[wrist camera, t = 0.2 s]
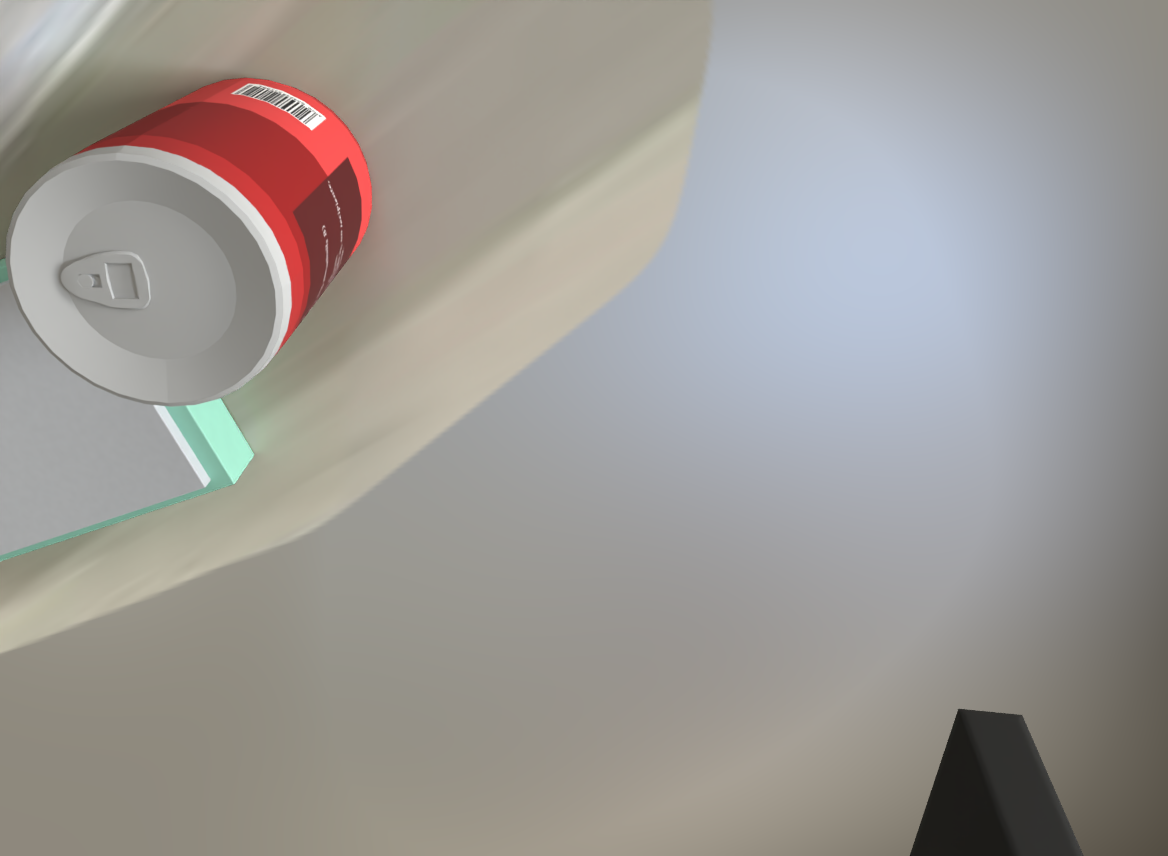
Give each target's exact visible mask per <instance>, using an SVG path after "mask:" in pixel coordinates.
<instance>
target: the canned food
mask: <svg viewBox="0 0 1168 856" xmlns="http://www.w3.org/2000/svg"><path fill="white" fill-rule="evenodd" d="M371 208H372V188H371V182H370V177H369V173H368V168H367V163H366V160H365V158H364V156H363V153H362V151H361V148H360V146H359V144H358V142H357V141H356V139H355V138H354V136H353V135H352V133H351V132H350V130H349V129H348V127H347V126H346V125H345V124H344V123H343V121H342V120H341V119H340V118H339V117H338V116H337V115H336V114H335V113H334V112H333V111H332V110H331V109H329V108H328V107H327V106H325V105H324V104H323V103H321V102H320V101H319V100H317V99H316V98H314V97H312V96H310V95H308V94H306V93H304V92H302V91H300V90H298V89H296V88H293V87H290V86H287V85H283V84H280V83H276V82H273V81H270V80H262V79H252V78H240V79H230V80H223V81H220V82H216V83H213V84H210V85H207V86H204V87H202V88H200V89H198V90H196V91H194V92H192V93H191V94H189V95H187V96H185V97H183V98H181V99H179V100H177V101H175V102H173V103H171V104H169V105H167V106H165V107H163V108H162V109H160V110H158V111H156V112H154V113H152V114H150V115H148V116H146V117H144V118H142V119H140V120H138V121H136V122H134V123H133V124H131V125H129V126H127V127H125V128H123V129H121V130H119V131H117V132H115V133H113V134H111V135H109V136H107V137H106V138H104V139H102V140H100V141H98V142H96V143H94V144H92V145H90V146H88V147H87V148H85V149H83V150H82V151H80V152H78V153H77V154H75V155H73V156H71V157H70V158H68V159H66V160H65V161H63V162H61V163H60V164H58V165H56V166H55V167H53V168H51V169H50V170H49V171H48V172H47V173H46V174H45V175H43V176H42V177H41V178H40V179H39V180H38V181H37V182H36V183H35V184H34V185H33V186H32V187H31V188H30V189H29V190H28V191H27V192H26V193H25V194H24V196H23V198H22V199H21V201H20V203H19V205H18V206H17V208H16V210H15V211H14V213H13V216H12V219H11V223H10V226H9V230H8V233H7V239H6V260H5V261H6V267H7V273H8V278H9V284H10V288H11V290H12V293H13V295H14V298H15V301H16V303H17V306H18V309H19V311H20V312H21V314H22V316H23V317H24V319H25V321H26V322H27V324H28V326H29V327H30V329H31V331H32V332H33V334H34V335H35V336H36V337H37V338H38V339H39V341H40V342H41V343H42V344H43V345H44V347H45V348H46V349H47V350H48V351H49V353H50V354H52V355H53V356H54V357H55V358H56V359H57V360H58V361H60V362H61V363H62V364H63V365H64V366H65V367H67V368H68V369H69V370H70V371H71V372H73V373H74V374H76V375H78V376H79V377H81V378H82V379H84V380H85V381H87V382H89V383H90V384H92V385H93V386H95V387H97V388H100V389H102V390H104V391H107V392H109V393H111V394H113V395H116V396H118V397H121V398H124V399H128V400H132V401H135V402H139V403H143V404H150V405H159V406H168V407H173V406H188V405H197V404H201V403H205V402H209V401H213V400H217V399H219V398H221V397H223V396H225V395H228V394H230V393H232V392H234V391H236V390H238V389H239V388H241V387H242V386H243V385H244V384H246V383H247V382H248V381H249V380H251V379H252V378H253V377H254V376H256V375H257V374H258V373H259V372H260V371H261V370H263V369H264V368H265V367H266V365H267V364H268V363H269V362H270V360H271V359H272V358H273V357H274V356H275V355H276V354H277V353H278V351H279V350H280V349H281V347H282V346H283V345H284V343H285V342H286V341H287V340H288V338H289V337H290V336H291V334H292V333H293V332H294V330H295V329H296V328H297V326H298V325H299V324H300V322H301V321H302V320H303V319H304V317H305V316H306V315H307V313H308V312H309V311H310V309H311V308H312V307H313V305H314V304H315V303H316V301H317V300H318V299H319V297H320V296H321V295H322V293H323V292H324V291H325V289H326V288H327V287H328V285H329V284H330V283H331V281H332V280H333V279H334V277H335V276H336V275H337V274H338V272H339V271H340V270H341V268H342V267H343V266H344V264H345V263H346V262H347V260H348V259H349V258H350V256H351V255H352V254H353V252H354V251H355V250H356V248H357V247H358V246H359V244H360V242H361V240H362V238H363V236H364V234H365V231H366V229H367V227H368V222H369V218H370V213H371Z"/></svg>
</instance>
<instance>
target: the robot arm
mask: <svg viewBox="0 0 1168 856" xmlns="http://www.w3.org/2000/svg"><path fill="white" fill-rule="evenodd" d="M910 856H1083V853H1082V851H1081V849H1080V846H1079V844H1078V842H1077V840H1076V837H1075V835H1074V833H1073V830H1072V828H1071V826H1070V824H1069V821H1068V819H1067V817H1066V815H1065V812H1064V810H1063V808H1062V805H1061V803H1060V801H1059V799H1058V796H1057V794H1056V792H1055V789H1054V787H1053V785H1052V782H1051V780H1050V778H1049V776H1048V773H1047V771H1046V769H1045V766H1044V764H1043V762H1042V760H1041V757H1040V755H1039V753H1038V750H1037V748H1036V746H1035V744H1034V741H1033V739H1032V737H1031V734H1030V732H1029V730H1028V728H1027V725H1026V723H1025V721H1024V718H1023V716H1022V715H1015V714H1005V713H995V712H985V711H975V710H965V709H958V712H957V715H956V718H955V721H954V724H953V727H952V730H951V734H950V736H949V739H948V742H947V745H946V748H945V751H944V754H943V757H942V760H941V763H940V766H939V770H938V772H937V775H936V778H935V781H934V785H933V788H932V790H931V793H930V797H929V799H928V802H927V805H926V809H925V812H924V814H923V818H922V821H921V824H920V826H919V830H918V833H917V836H916V838H915V842H914V845H913V848H912V851H911V854H910Z"/></svg>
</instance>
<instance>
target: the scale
mask: <svg viewBox="0 0 1168 856" xmlns="http://www.w3.org/2000/svg"><path fill="white" fill-rule="evenodd" d="M5 260H6V258H4V259H1V260H0V561H3V560H6V559H9V558H12V557H15V556H18V555H21V554H24V553H27V552H30V551H33V550H36V549H39V548H42V547H45V546H48V545H51V544H54V543H57V542H60V541H64V540H67V539H70V538H73V537H76V536H79V535H82V534H85V533H88V532H91V531H94V530H97V529H100V528H103V527H106V526H109V525H112V524H115V523H118V522H121V521H124V520H127V519H130V518H133V517H136V516H139V515H142V514H145V513H148V512H151V511H154V510H157V509H160V508H163V507H166V506H169V505H173V504H176V503H179V502H182V501H185V500H188V499H191V498H194V497H197V496H200V495H203V494H206V493H209V492H212V491H215V490H218V489H221V488H224V487H227V486H230V485H233V484H235V483H236V481H237V480H238V478H239V477H240V475H241V474H242V472H243V471H244V469H245V468H246V466H247V465H248V463H249V462H250V460H251V459H252V458H253V456H254V453H253V452H252V450H251V448H250V447H249V445H248V443H247V442H246V440H245V438H244V437H243V435H242V433H241V432H240V430H239V428H238V427H237V425H236V423H235V422H234V420H233V418H232V417H231V415H230V413H229V412H228V410H227V408H226V407H225V405H224V403H223V402H222V400H221V398H219V399H217V400H213V401H209V402H205V403H201V404H197V405H188V406H173V407H168V406H159V405H150V404H143V403H139V402H135V401H132V400H128V399H124V398H121V397H118V396H116V395H113V394H111V393H109V392H107V391H104V390H102V389H100V388H97V387H95V386H93V385H92V384H90V383H89V382H87V381H85V380H84V379H82V378H81V377H79V376H78V375H76V374H74V373H73V372H71V371H70V370H69V369H68V368H67V367H65V366H64V365H63V364H62V363H61V362H60V361H58V360H57V359H56V358H55V357H54V356H53V355H52V354H50V353H49V351H48V350H47V349H46V348H45V347H44V345H43V344H42V343H41V342H40V341H39V339H38V338H37V337H36V336H35V335H34V334H33V332H32V331H31V329H30V327H29V326H28V324H27V322H26V321H25V319H24V317H23V316H22V314H21V312H20V311H19V309H18V306H17V303H16V301H15V298H14V295H13V293H12V290H11V288H10V284H9V278H8V273H7V267H6V261H5Z"/></svg>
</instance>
